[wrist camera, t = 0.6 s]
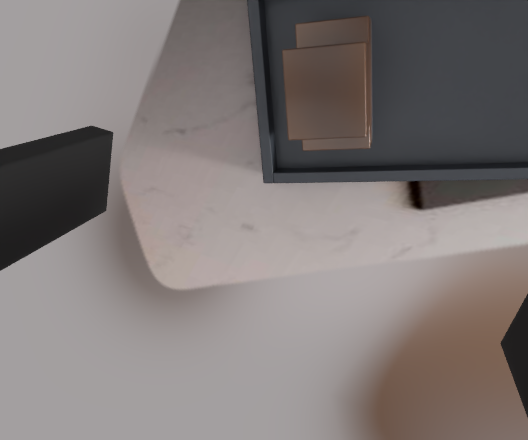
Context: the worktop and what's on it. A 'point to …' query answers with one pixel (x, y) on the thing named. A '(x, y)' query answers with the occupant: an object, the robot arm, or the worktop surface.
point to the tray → (408, 91)
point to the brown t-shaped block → (330, 84)
